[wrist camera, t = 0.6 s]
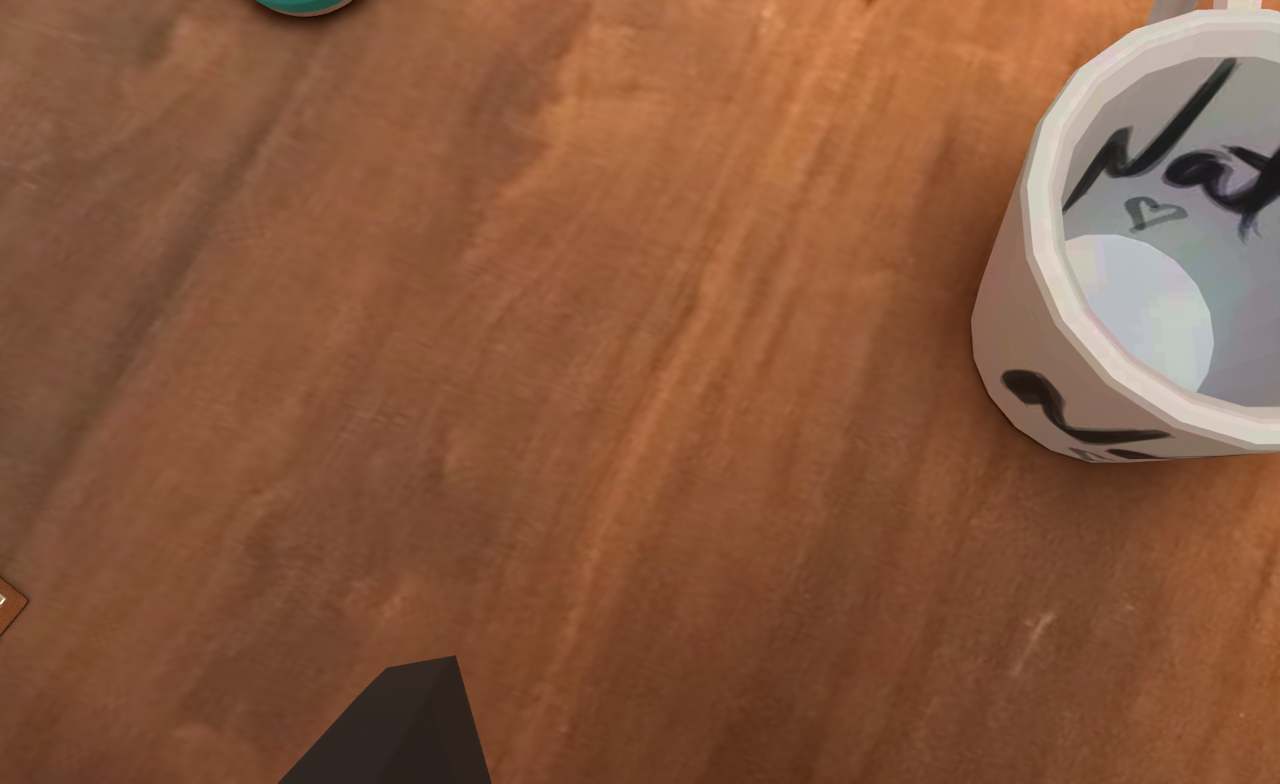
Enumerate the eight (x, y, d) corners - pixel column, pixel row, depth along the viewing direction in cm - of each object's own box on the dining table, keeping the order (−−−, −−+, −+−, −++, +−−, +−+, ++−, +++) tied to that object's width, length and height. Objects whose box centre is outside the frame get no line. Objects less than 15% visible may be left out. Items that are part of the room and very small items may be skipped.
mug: (905, 484, 33) (1007, 409, 24) (950, 37, 37) (1054, -188, 27) (1263, 537, 33) (1518, 484, 23) (1275, 79, 36) (1500, -136, 27)
